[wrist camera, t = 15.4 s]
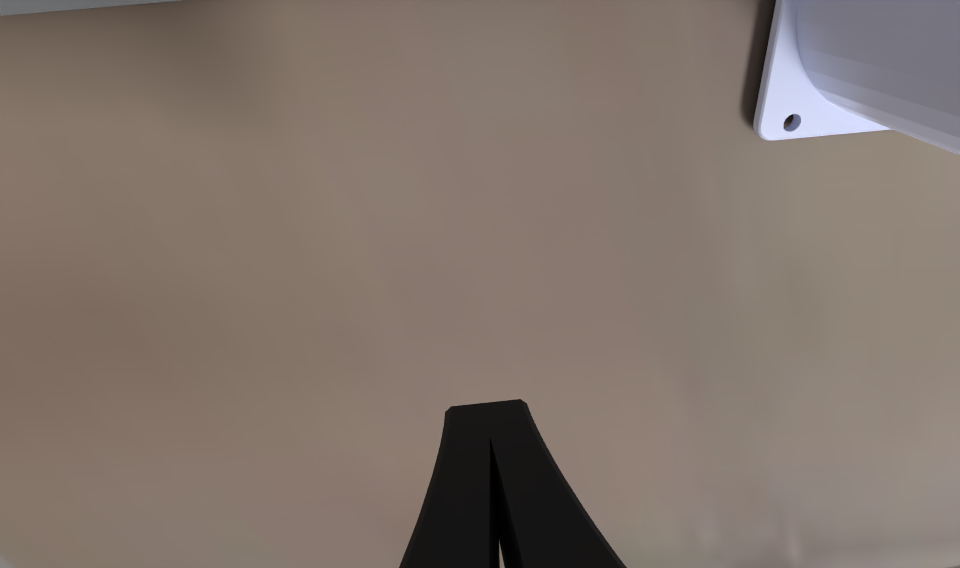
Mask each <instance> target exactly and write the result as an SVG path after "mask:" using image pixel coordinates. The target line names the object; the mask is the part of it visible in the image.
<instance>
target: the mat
mask: <svg viewBox="0 0 960 568" xmlns="http://www.w3.org/2000/svg"><path fill="white" fill-rule="evenodd" d="M169 1H181V0H0V16H4V15H16V14H27V13H39V12H51V11H63V10H75V9H86V8H98V7H110V6H122V5H133V4H145V3H157V2H169Z"/></svg>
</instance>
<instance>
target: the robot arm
mask: <svg viewBox="0 0 960 568" xmlns="http://www.w3.org/2000/svg"><path fill="white" fill-rule="evenodd" d="M792 114H793V117H794V119H793V121H792V123H791V124H790V125H789V126H788V127H785V128H784V127H783V123H784V121H785V119H786V118H787V117H788V116H789V115H792ZM753 129H754V131H755V133H756V134H757V135H758V136H760V137H761V138H763V139H765V140H771V141H772V140H782V139H793V138H804V137H814V136H825V135H836V134H846V133H857V132H868V131H878V130H889V129H893V130H896V131H898V132H901V133H903V134H906V135H909V136H911V137H914V138H916V139H919V140H922V141H924V142H927V143H930V144H932V145H935V146H937V147H940V148H943V149H945V150H948V151H950V152H953V153H956V154H958V155H960V0H776V4H775V10H774V15H773V20H772V26H771V31H770V36H769V42H768V47H767V53H766V58H765V63H764V69H763V74H762V79H761V85H760V90H759V95H758V101H757V106H756V111H755V117H754V122H753ZM499 541H500V546H501V551H502V556H503V561H504V566H505V568H626V566H625V565H624V564H623V562H622V561H621V560H620V558H619V557H618V556H617V554H616V553H615V552H614V550H613V549H612V548H611V546H610V545H609V543H608V542H607V541H606V539H605V538H604V536H603V535H602V534H601V532H600V531H599V529H598V528H597V527H596V525H595V524H594V522H593V521H592V519H591V518H590V516H589V515H588V513H587V512H586V511H585V509H584V508H583V506H582V504H581V503H580V501H579V500H578V498H577V497H576V495H575V493H574V492H573V490H572V489H571V487H570V486H569V484H568V482H567V481H566V479H565V478H564V476H563V474H562V473H561V471H560V469H559V468H558V466H557V464H556V463H555V461H554V459H553V457H552V455H551V454H550V452H549V450H548V448H547V446H546V445H545V443H544V441H543V439H542V437H541V435H540V433H539V431H538V429H537V427H536V425H535V423H534V420H533V418H532V416H531V413H530V411H529V408H528V405H527V403H525V402H524V401H522V400H521V399H518V400H508V401H499V402H489V403H480V404H470V405H461V406H451V407H450V408H449V409H448V410H447V411H446V412H445V420H444V428H443V433H442V439H441V443H440V448H439V452H438V456H437V460H436V463H435V467H434V471H433V474H432V478H431V481H430V484H429V487H428V490H427V493H426V496H425V499H424V502H423V506H422V509H421V512H420V515H419V518H418V520H417V523H416V526H415V529H414V531H413V534H412V536H411V539H410V541H409V544H408V546H407V549H406V552H405V554H404V557H403V559H402V562H401V564H400V567H399V568H500V560H499Z"/></svg>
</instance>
